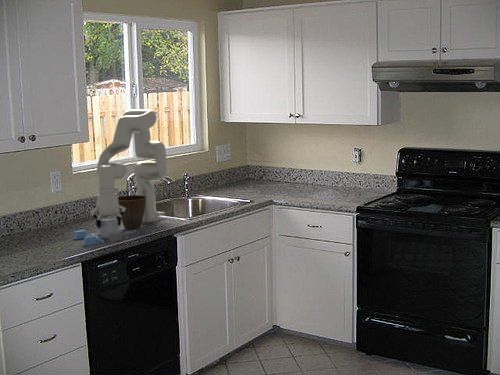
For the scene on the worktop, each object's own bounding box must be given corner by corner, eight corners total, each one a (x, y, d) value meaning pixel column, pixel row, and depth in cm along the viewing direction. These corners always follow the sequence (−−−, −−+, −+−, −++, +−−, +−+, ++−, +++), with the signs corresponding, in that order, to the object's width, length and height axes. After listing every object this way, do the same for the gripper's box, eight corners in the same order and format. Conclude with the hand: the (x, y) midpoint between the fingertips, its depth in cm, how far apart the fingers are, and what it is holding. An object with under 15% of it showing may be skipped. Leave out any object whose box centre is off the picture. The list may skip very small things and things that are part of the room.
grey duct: (115, 232, 348) (115, 225, 348) (128, 239, 333) (128, 232, 332) (99, 234, 344) (98, 227, 344) (111, 241, 329) (110, 234, 328)
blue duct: (92, 235, 343) (91, 228, 342) (104, 242, 327) (103, 235, 327) (74, 238, 338) (74, 231, 338) (86, 245, 323) (85, 238, 322)
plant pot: (153, 227, 358) (152, 196, 355) (133, 233, 346) (131, 201, 343) (132, 224, 366) (130, 194, 364) (111, 230, 354) (109, 198, 351)
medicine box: (119, 236, 339) (118, 219, 337) (115, 239, 334) (114, 221, 333) (104, 236, 341) (103, 218, 340) (100, 238, 337) (99, 220, 335)
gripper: (121, 188, 342) (123, 223, 344) (86, 191, 333) (88, 227, 335) (127, 190, 335) (128, 225, 337) (91, 193, 327) (93, 229, 329)
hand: (108, 226), depth 336 cm, fingers open, 9 cm apart
